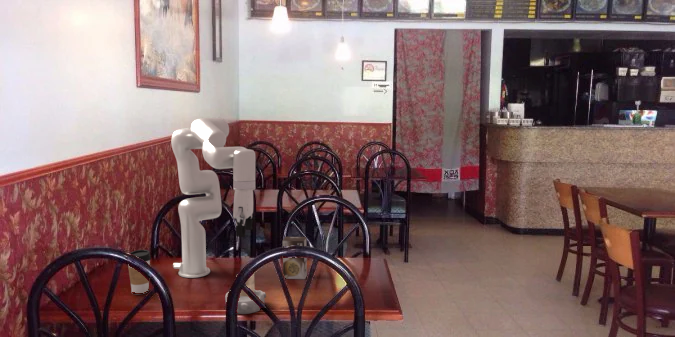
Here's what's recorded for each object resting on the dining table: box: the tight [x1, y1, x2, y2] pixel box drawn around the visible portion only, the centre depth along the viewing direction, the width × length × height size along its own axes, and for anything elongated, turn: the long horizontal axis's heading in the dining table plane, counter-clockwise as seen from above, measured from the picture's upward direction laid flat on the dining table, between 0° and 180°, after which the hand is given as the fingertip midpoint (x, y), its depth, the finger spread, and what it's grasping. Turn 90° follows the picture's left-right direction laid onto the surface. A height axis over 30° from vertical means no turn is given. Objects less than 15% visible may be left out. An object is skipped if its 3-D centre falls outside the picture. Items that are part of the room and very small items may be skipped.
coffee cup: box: [128, 249, 152, 294], centre depth 204 cm, size 8×8×15 cm
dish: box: [224, 288, 267, 315], centre depth 191 cm, size 14×14×5 cm
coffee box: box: [282, 236, 308, 280], centre depth 223 cm, size 9×6×16 cm
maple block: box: [236, 273, 255, 296], centre depth 190 cm, size 5×5×7 cm
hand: (244, 233), depth 192 cm, fingers open, 9 cm apart
